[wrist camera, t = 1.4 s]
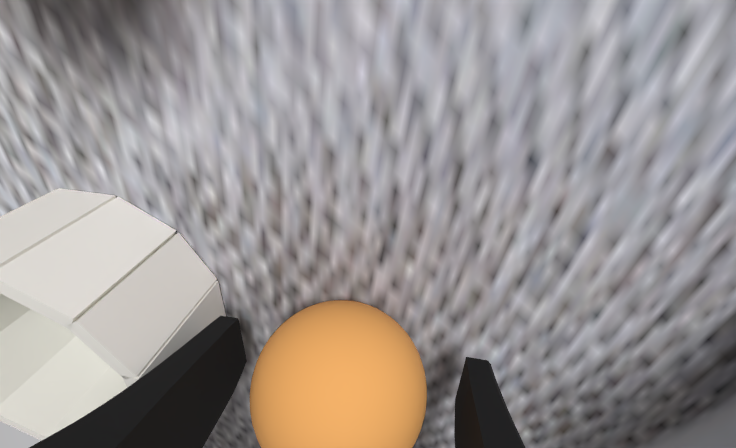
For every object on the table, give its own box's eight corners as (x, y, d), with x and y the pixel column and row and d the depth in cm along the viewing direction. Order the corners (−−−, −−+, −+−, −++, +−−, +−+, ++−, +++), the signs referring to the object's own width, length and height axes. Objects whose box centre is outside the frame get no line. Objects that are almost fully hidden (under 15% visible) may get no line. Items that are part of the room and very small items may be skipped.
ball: (440, 279, 11) (435, 445, 7) (421, 382, 14) (410, 550, 10) (282, 256, 12) (193, 396, 8) (293, 359, 15) (230, 506, 10)
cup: (201, 206, 12) (99, 292, 8) (239, 373, 16) (181, 475, 12) (-18, 178, 13) (-186, 244, 9) (72, 341, 17) (-22, 427, 13)
